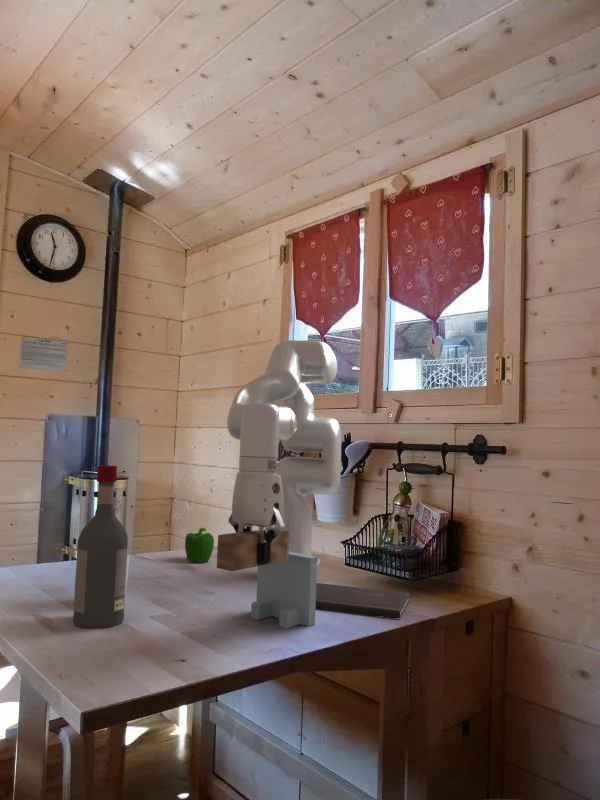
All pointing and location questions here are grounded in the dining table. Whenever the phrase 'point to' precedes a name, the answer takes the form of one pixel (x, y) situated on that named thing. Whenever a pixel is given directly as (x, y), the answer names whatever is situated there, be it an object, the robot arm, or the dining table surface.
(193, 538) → the bell pepper
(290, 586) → the panel
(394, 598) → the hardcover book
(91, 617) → the liquor
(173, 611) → the dining table surface
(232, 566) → the brown wooden block
